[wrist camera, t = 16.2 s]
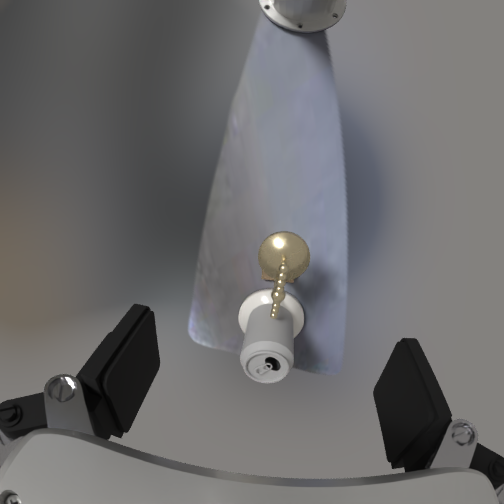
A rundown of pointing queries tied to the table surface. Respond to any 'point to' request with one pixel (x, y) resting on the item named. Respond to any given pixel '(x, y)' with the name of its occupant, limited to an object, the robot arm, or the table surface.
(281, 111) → the table surface
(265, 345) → the can
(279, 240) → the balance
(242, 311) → the white rounded disc
